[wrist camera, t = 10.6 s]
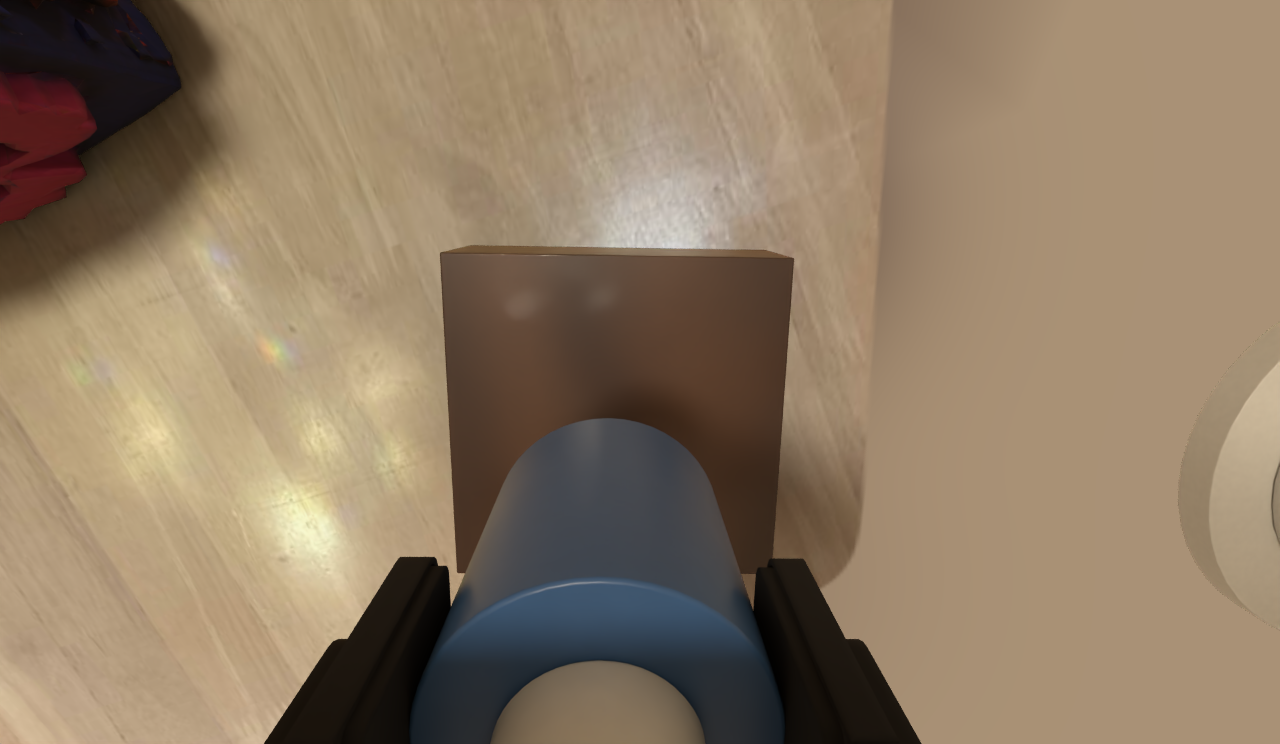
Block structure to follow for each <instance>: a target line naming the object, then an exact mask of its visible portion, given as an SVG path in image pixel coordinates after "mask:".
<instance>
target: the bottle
mask: <svg viewBox="0 0 1280 744" xmlns="http://www.w3.org/2000/svg"><path fill="white" fill-rule="evenodd" d="M409 738H410V744H784V739H785V712H784V706H783V701H782V698H781V694H780V691H779V688H778V685H777V681H776V678H775V675H774V672H773V669H772V666H771V663H770V660H769V657H768V654H767V651H766V648H765V645H764V642H763V639H762V636H761V633H760V630H759V627H758V624H757V621H756V618H755V615H754V612H753V609H752V606H751V603H750V600H749V597H748V594H747V591H746V588H745V585H744V582H743V579H742V576H741V573H740V570H739V567H738V564H737V561H736V558H735V555H734V552H733V549H732V546H731V543H730V540H729V537H728V534H727V531H726V528H725V525H724V522H723V519H722V516H721V513H720V509H719V506H718V503H717V500H716V497H715V494H714V491H713V488H712V485H711V483H710V481H709V479H708V477H707V475H706V473H705V471H704V470H703V468H702V467H701V465H700V464H699V462H698V461H697V460H696V459H695V457H694V456H693V455H692V454H691V453H690V452H689V451H688V450H687V449H686V448H685V447H684V446H683V445H681V444H680V443H679V442H678V441H676V440H675V439H673V438H672V437H670V436H669V435H667V434H666V433H664V432H662V431H660V430H658V429H656V428H654V427H651V426H648V425H645V424H642V423H639V422H635V421H630V420H625V419H613V418H602V419H590V420H585V421H579V422H576V423H573V424H569V425H566V426H563V427H561V428H559V429H557V430H555V431H552V432H550V433H549V434H547V435H546V436H544V437H542V438H541V439H539V440H538V441H537V442H535V443H534V444H533V445H532V446H531V447H529V448H528V449H527V450H526V451H525V452H524V453H523V454H522V455H521V457H520V458H519V459H518V460H517V461H516V463H515V464H514V466H513V467H512V468H511V470H510V471H509V473H508V475H507V477H506V479H505V481H504V483H503V485H502V488H501V490H500V493H499V495H498V497H497V500H496V502H495V504H494V507H493V509H492V511H491V514H490V516H489V518H488V521H487V523H486V526H485V528H484V530H483V533H482V535H481V537H480V540H479V542H478V544H477V547H476V549H475V552H474V554H473V556H472V559H471V561H470V563H469V566H468V568H467V570H466V573H465V575H464V577H463V580H462V582H461V585H460V587H459V589H458V592H457V594H456V596H455V599H454V601H453V603H452V606H451V608H450V611H449V613H448V615H447V618H446V620H445V622H444V625H443V627H442V629H441V632H440V634H439V637H438V639H437V641H436V644H435V646H434V648H433V651H432V653H431V655H430V658H429V660H428V662H427V665H426V667H425V670H424V672H423V674H422V677H421V679H420V681H419V684H418V687H417V690H416V693H415V696H414V699H413V702H412V706H411V712H410V720H409Z"/></svg>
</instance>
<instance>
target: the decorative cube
mask: <svg viewBox="0 0 1280 744" xmlns="http://www.w3.org/2000/svg"><path fill="white" fill-rule="evenodd" d="M180 88H181V82H180V78H179V76H178V74H177V71H176V69H175V67H174V65H173V61H172V55H171V54H170V52H169V51H168V49H167V48H166V46H165V45H164V43H163V41H162V40H161V38H160V37H159V35H158V34H157V33H156V31H155V30H154V28H153V27H152V25H151V24H150V22H149V21H148V20H147V18H146V17H145V16H144V15H143V14H142V13H141V12H140V11H139V10H138V9H137V8H136V7H135V5H134V4H133V3H132V1H131V0H0V225H1V224H2V223H4V222H5V221H12V220H18V219H25V218H26V216H27V215H28V214H29V213H30V212H31V211H32V209H34V208H36V207H39V206H42V205H45V204H48V203H51V202H54V201H57V200H60V199H63V198H66V189H65V186H67V185H71V184H75V183H79V182H80V181H81V180H82V179H83V178H84V177H85V176H87V174H86V172H85V169H84V167H83V165H82V163H81V160H80V158H79V155H80V154H82V153H83V152H85V151H87V150H88V149H90V148H92V147H93V146H95V145H97V144H98V143H100V142H102V141H103V140H105V139H106V138H108V137H109V136H111V135H113V134H114V133H116V132H117V131H119V130H121V129H122V128H124V127H126V126H128V125H129V124H131V123H133V122H134V121H136V120H137V119H139V118H140V117H142V116H144V115H145V114H147V113H148V112H149V111H151V110H152V109H154V108H155V107H156V106H158V105H159V104H160V103H162V102H163V101H165V100H166V99H167V98H169V97H170V96H171V95H173V94H174V93H175V92H176V91H178V90H179V89H180Z"/></svg>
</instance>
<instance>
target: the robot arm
mask: <svg viewBox="0 0 1280 744" xmlns="http://www.w3.org/2000/svg"><path fill="white" fill-rule="evenodd" d="M1272 507H1273V517H1274V527H1275V530H1276V533H1277V536H1278V539H1279V541H1280V466H1279V470H1278V473H1277V476H1276V479H1275V486H1274V494H1273V503H1272ZM450 608H451V602H450V583H449V570H448V567H447V566H438V563H437V560H436V558H435V557H400V558H399V559H398V560H397V561H396V563H395V565H394V566H393V568H392V569H391V571H390V573H389V574H388V576H387V577H386V579H385V580H384V582H383V584H382V585H381V587H380V588H379V590H378V592H377V593H376V595H375V596H374V598H373V599H372V601H371V603H370V604H369V606H368V607H367V609H366V611H365V612H364V614H363V615H362V617H361V618H360V620H359V622H358V623H357V625H356V626H355V628H354V630H353V631H352V633H351V634H350V636H349V637H348V639H338V640H335V641H333V642H332V643H331V645H330V646H329V647H328V648H327V650H326V651H325V653H324V654H323V656H322V657H321V659H320V660H319V662H318V663H317V665H316V666H315V668H314V669H313V671H312V672H311V674H310V675H309V677H308V678H307V680H306V681H305V683H304V684H303V686H302V687H301V689H300V690H299V692H298V693H297V695H296V696H295V698H294V699H293V701H292V702H291V704H290V705H289V707H288V708H287V710H286V711H285V713H284V714H283V716H282V717H281V719H280V720H279V722H278V723H277V725H276V726H275V728H274V729H273V731H272V732H271V734H270V735H269V737H268V738H267V740H266V741H265V743H264V744H410V738H409V720H410V712H411V706H412V702H413V699H414V696H415V693H416V690H417V687H418V684H419V681H420V679H421V677H422V674H423V672H424V670H425V667H426V665H427V662H428V660H429V658H430V655H431V653H432V651H433V648H434V646H435V644H436V641H437V639H438V637H439V634H440V632H441V629H442V627H443V625H444V622H445V620H446V618H447V615H448V613H449V611H450ZM753 612H754V615H755V618H756V621H757V624H758V627H759V630H760V633H761V636H762V639H763V642H764V645H765V648H766V651H767V654H768V657H769V660H770V663H771V666H772V669H773V672H774V675H775V678H776V681H777V685H778V688H779V691H780V694H781V698H782V701H783V706H784V712H785V739H784V744H921V742H920V740H919V739H918V737H917V735H916V733H915V731H914V730H913V728H912V726H911V725H910V723H909V721H908V719H907V717H906V715H905V714H904V712H903V710H902V708H901V706H900V705H899V703H898V701H897V699H896V698H895V696H894V694H893V692H892V690H891V689H890V687H889V685H888V683H887V682H886V680H885V678H884V676H883V675H882V673H881V671H880V669H879V667H878V666H877V664H876V662H875V660H874V658H873V657H872V655H871V653H870V651H869V650H868V648H867V646H866V645H865V644H864V642H863V641H861V640H859V639H845V637H844V635H843V633H842V631H841V629H840V627H839V625H838V623H837V621H836V619H835V618H834V616H833V614H832V612H831V610H830V608H829V606H828V604H827V603H826V600H825V598H824V597H823V595H822V593H821V591H820V589H819V587H818V585H817V583H816V581H815V579H814V577H813V575H812V574H811V572H810V570H809V568H808V566H807V564H806V562H805V561H804V559H769V561H768V565H767V567H758V568H757V572H756V582H755V596H754V610H753Z"/></svg>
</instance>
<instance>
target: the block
mask: <svg viewBox="0 0 1280 744" xmlns="http://www.w3.org/2000/svg"><path fill="white" fill-rule="evenodd" d="M440 263H441V281H442V300H443V318H444V337H445V356H446V374H447V393H448V412H449V430H450V449H451V467H452V486H453V505H454V523H455V542H456V560H457V573H466V570H467V568H468V566H469V563H470V561H471V559H472V556H473V554H474V552H475V549H476V547H477V544H478V542H479V540H480V537H481V535H482V533H483V530H484V528H485V526H486V523H487V521H488V518H489V516H490V514H491V511H492V509H493V507H494V504H495V502H496V500H497V497H498V495H499V493H500V490H501V488H502V485H503V483H504V481H505V479H506V477H507V475H508V473H509V471H510V470H511V468H512V467H513V466H514V464H515V463H516V461H517V460H518V459H519V458H520V457H521V455H522V454H523V453H524V452H525V451H526V450H527V449H528V448H529V447H531V446H532V445H533V444H534V443H535V442H537V441H538V440H539V439H541V438H542V437H544V436H546V435H547V434H549V433H550V432H552V431H555V430H557V429H559V428H561V427H563V426H566V425H569V424H573V423H576V422H579V421H585V420H590V419H602V418H613V419H625V420H630V421H635V422H639V423H642V424H645V425H648V426H651V427H654V428H656V429H658V430H660V431H662V432H664V433H666V434H667V435H669V436H670V437H672V438H673V439H675V440H676V441H678V442H679V443H680V444H681V445H683V446H684V447H685V448H686V449H687V450H688V451H689V452H690V453H691V454H692V455H693V456H694V457H695V459H696V460H697V461H698V462H699V464H700V465H701V467H702V468H703V470H704V471H705V473H706V475H707V477H708V479H709V481H710V483H711V485H712V488H713V491H714V494H715V497H716V500H717V503H718V506H719V509H720V513H721V516H722V519H723V522H724V525H725V528H726V531H727V534H728V537H729V540H730V543H731V546H732V549H733V552H734V555H735V558H736V561H737V564H738V567H739V570H740V573H741V574H756V572H757V568H758V567H767V565H768V561H769V559H772V558H773V544H774V530H775V516H776V502H777V488H778V474H779V460H780V446H781V432H782V419H783V405H784V391H785V377H786V363H787V349H788V335H789V321H790V307H791V293H792V280H793V266H794V258H791V257H788V256H784V255H781V254H777V253H774V252H770V251H767V250H725V249H664V248H602V247H540V246H478V245H470V246H466V247H462V248H458V249H453V250H449V251H445V252H441V253H440Z"/></svg>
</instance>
